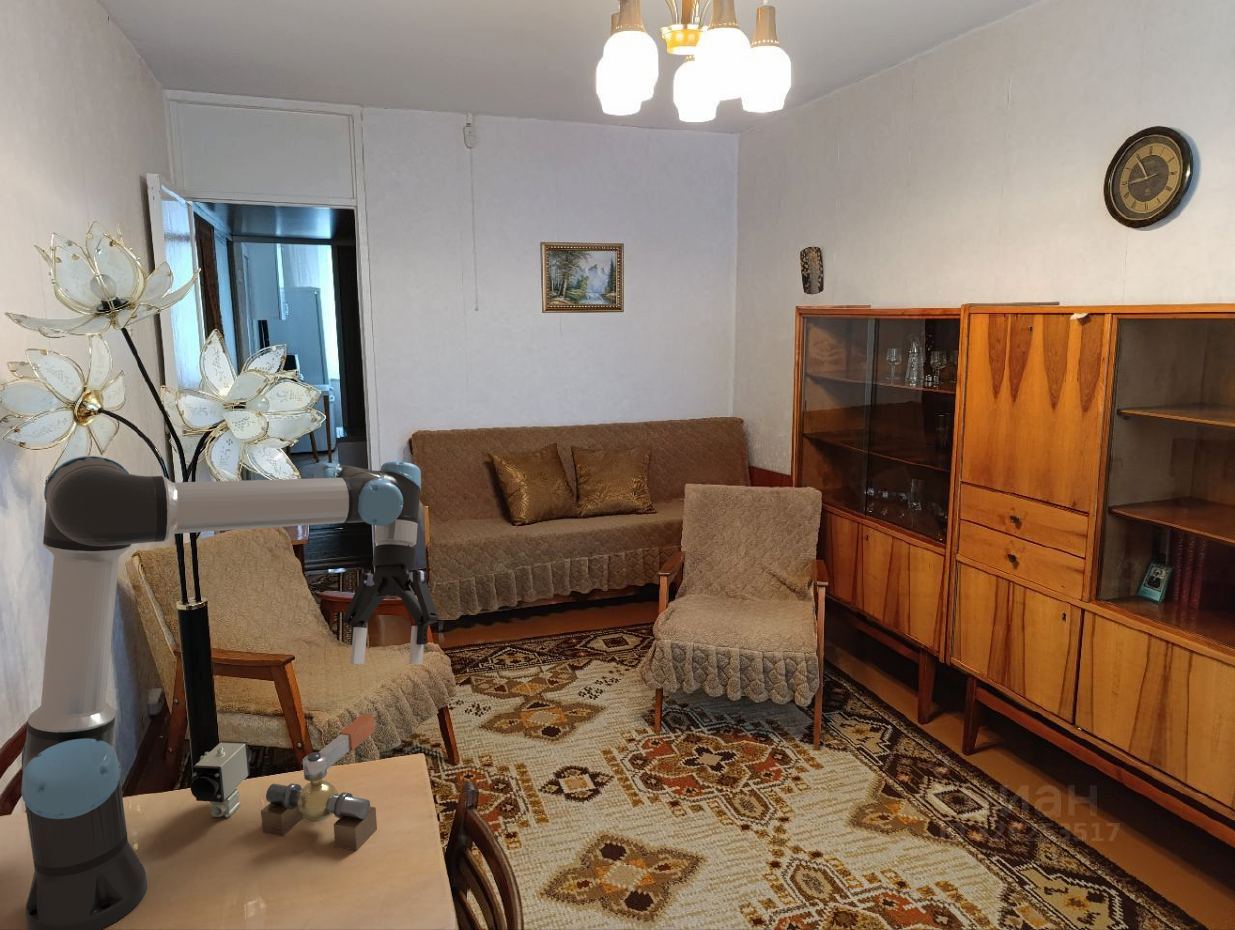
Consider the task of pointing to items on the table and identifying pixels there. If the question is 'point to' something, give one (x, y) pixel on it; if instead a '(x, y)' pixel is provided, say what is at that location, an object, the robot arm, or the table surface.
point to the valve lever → (338, 747)
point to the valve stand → (319, 811)
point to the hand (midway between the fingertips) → (385, 664)
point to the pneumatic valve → (221, 776)
